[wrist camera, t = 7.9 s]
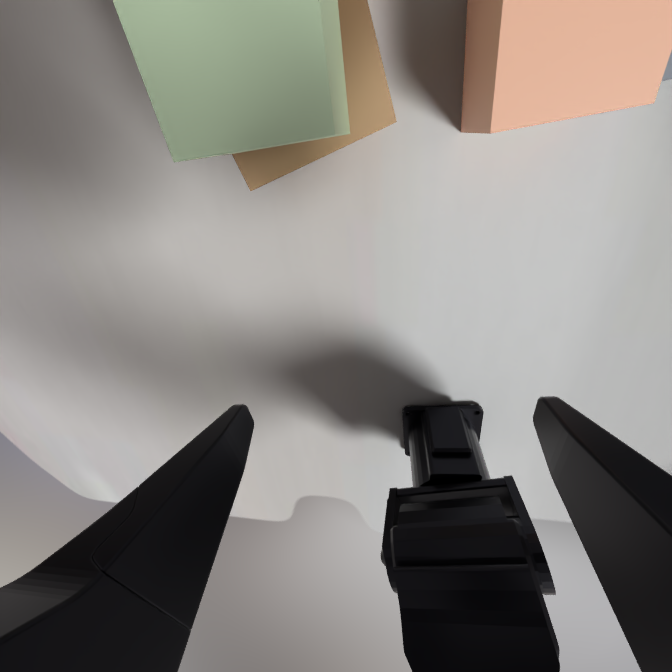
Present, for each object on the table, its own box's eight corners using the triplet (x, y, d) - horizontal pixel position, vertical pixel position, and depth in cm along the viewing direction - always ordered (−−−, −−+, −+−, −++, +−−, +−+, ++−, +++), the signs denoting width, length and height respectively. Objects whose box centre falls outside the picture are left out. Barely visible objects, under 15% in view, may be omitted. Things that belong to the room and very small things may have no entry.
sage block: (350, 134, 12) (335, 135, 8) (238, 153, 13) (174, 162, 9) (332, -53, 10) (296, -191, 5) (192, -13, 10) (72, -105, 6)
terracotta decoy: (573, 110, 14) (653, 103, 10) (460, 132, 15) (490, 133, 11) (609, -54, 11) (740, -158, 7) (467, -14, 12) (511, -86, 8)
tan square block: (393, 123, 15) (396, 121, 12) (275, 179, 17) (250, 191, 14) (342, -79, 12) (328, -158, 8) (203, 22, 14) (149, -10, 11)
